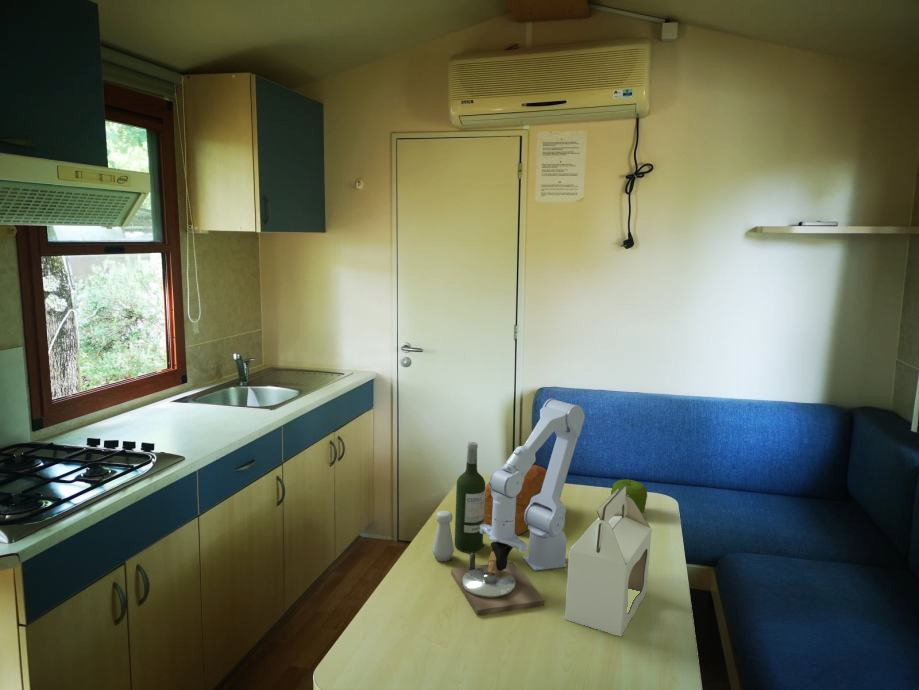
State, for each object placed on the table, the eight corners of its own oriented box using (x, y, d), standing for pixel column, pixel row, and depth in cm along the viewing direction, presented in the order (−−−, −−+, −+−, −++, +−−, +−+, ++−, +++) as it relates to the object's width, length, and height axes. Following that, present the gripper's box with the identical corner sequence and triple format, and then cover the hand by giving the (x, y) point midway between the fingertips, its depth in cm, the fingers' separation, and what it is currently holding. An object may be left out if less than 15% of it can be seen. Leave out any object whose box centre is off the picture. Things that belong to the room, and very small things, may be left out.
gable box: (595, 579, 179) (602, 475, 175) (646, 594, 173) (655, 486, 168) (564, 620, 160) (571, 505, 156) (620, 638, 154) (630, 518, 149)
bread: (474, 526, 209) (476, 475, 206) (510, 497, 232) (512, 451, 230) (524, 538, 202) (527, 486, 199) (556, 507, 225) (559, 460, 222)
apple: (608, 516, 219) (610, 483, 217) (611, 504, 229) (613, 472, 227) (644, 522, 216) (647, 488, 214) (646, 509, 226) (648, 477, 224)
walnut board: (512, 566, 185) (513, 545, 184) (544, 605, 166) (545, 582, 165) (451, 574, 179) (451, 552, 178) (477, 616, 161) (478, 591, 160)
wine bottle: (471, 555, 190) (475, 449, 185) (448, 546, 195) (452, 443, 190) (488, 545, 196) (492, 443, 191) (465, 537, 201) (469, 437, 196)
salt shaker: (450, 564, 185) (452, 518, 182) (429, 561, 186) (431, 515, 183) (455, 554, 190) (457, 509, 188) (435, 551, 191) (436, 507, 189)
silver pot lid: (511, 601, 164) (511, 583, 163) (457, 593, 167) (457, 575, 166) (519, 571, 178) (520, 555, 178) (469, 565, 181) (470, 548, 180)
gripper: (472, 512, 176) (469, 562, 179) (513, 531, 166) (511, 584, 168) (491, 505, 181) (489, 554, 183) (533, 524, 171) (530, 575, 173)
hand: (501, 568), depth 176 cm, fingers closed, pressing on silver pot lid
